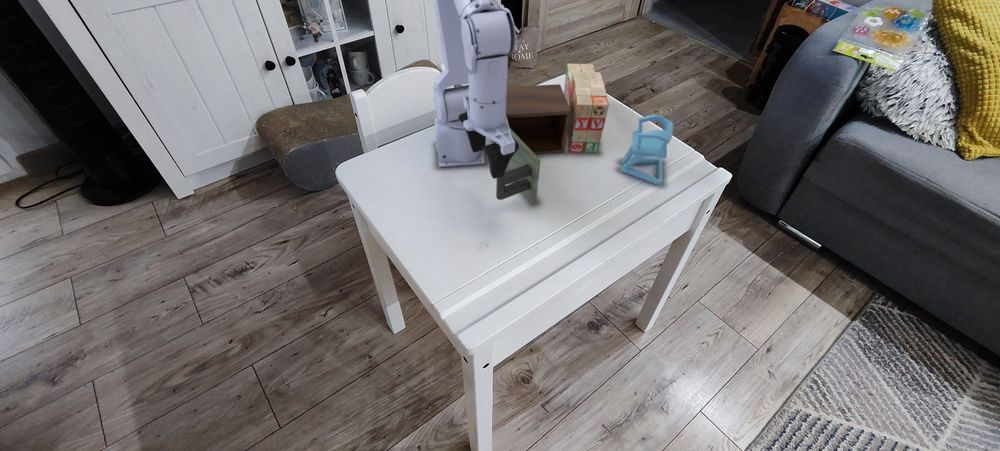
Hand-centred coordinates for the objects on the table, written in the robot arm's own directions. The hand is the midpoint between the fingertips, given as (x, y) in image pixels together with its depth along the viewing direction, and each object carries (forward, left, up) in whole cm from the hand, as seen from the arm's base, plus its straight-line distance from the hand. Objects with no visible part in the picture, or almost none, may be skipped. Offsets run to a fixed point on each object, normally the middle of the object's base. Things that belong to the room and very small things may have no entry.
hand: (487, 162), depth 79 cm
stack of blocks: (+24, +24, -11) cm, 35 cm away
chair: (+33, +7, -11) cm, 35 cm away
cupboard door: (+3, +5, -10) cm, 12 cm away
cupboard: (+11, +19, -10) cm, 24 cm away
